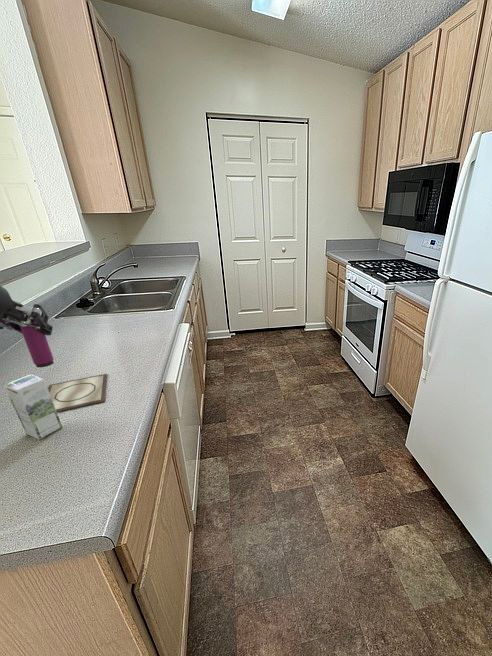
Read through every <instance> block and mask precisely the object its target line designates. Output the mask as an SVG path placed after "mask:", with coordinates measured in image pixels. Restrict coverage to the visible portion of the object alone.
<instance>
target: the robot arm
mask: <svg viewBox="0 0 492 656" xmlns="http://www.w3.org/2000/svg"><path fill="white" fill-rule="evenodd" d="M31 319H33V320H34V323H31ZM48 322H49V314H48V313H47V312H46V311H45V309H44V307H43V306H42V305H41V304H38V303H34V304H33V305H32V307H30V306H25V305H24V304H23V303H21V302H18V301H16V300H13V299H12V297H11V295H10V292H9V291H8V290H7V289H6V288H5V287H3V286H2V285H0V330H4V328H6V329H7V330H9V331H16V332H18V333H19V334H22V331H21V329H20V326H22V327H25V326H29V327H31V328H34V329H35V330H37V331H39V332H41V333H43V334H44V335H45V336H52V334H53V328H54V327H53V326H52V325H51V324H49V323H48ZM19 325H20V326H19Z"/></svg>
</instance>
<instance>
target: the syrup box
mask: <svg viewBox="0 0 492 656" xmlns="http://www.w3.org/2000/svg"><path fill="white" fill-rule="evenodd" d="M3 386H4V389H5V391H6V394H7V395H8V397H9V400H10V402H11V405H12V406H13V409H14V411H15V412H16V413H15V414H16V415H17V417H18V419H19V421H20V424H21V425H22V428H23V430H24V433H25V434H27V435H28V436H31V437H32V438H35V439H37V440H39V441H40V440H42V439H44V438H46V437H48V436H49V435H51V434H53V433H56V432H57V431H59V430H60V429H63V424H62V421H61V419H60V416H59V414H58V413H57V412H56V409H55V406H54V404H53V401H52V399H51V396H50V394H49V391H48V387H47V383H46V381H45V379H43V378H41V377H39V376H37V375H35V374H28V375H25V376H22V377H20V378H18V379H15V380H13V381H10V382H8V383H5V384H3Z"/></svg>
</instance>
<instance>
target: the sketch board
mask: <svg viewBox="0 0 492 656" xmlns="http://www.w3.org/2000/svg"><path fill="white" fill-rule="evenodd" d="M107 384H108V373H103V374H98V375H93V376H86V377H82V378H77V379H73V380H66V381H62V382H58V383H57V382H56V383H52V384H49V385H48V387H47V389H48V391H49V394H50V396H51V399H52V401H53V404H54V406H55V409H56V412H57V414H58V413H62V412H67V411H71V410H75V409H79V408H86V407H89V406H94V405H97V404H102V403H106V396H107V395H106V394H107V386H108V385H107Z"/></svg>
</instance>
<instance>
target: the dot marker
mask: <svg viewBox="0 0 492 656" xmlns="http://www.w3.org/2000/svg"><path fill="white" fill-rule="evenodd" d="M31 323H34V320H33V319H31ZM19 326H20V325H19ZM20 329H21V331H22V333H21V335H22V337H23V339H24V342H25V345H26V346H27V349H28V351H29V354H30V357H31V360H32V362H33V364H34V365H35V367H36V368H46V367H49V366H50V367H51V366H52V365H54V363H55V362H54V355H53V353H52V351H51V348H50V345H49V342H48V339H47V337H46V336H47V335H44V334H43V333H41V332H39V331H37V330H35V329H34V328H31V327H29V326H25V327H22V326H20Z"/></svg>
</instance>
